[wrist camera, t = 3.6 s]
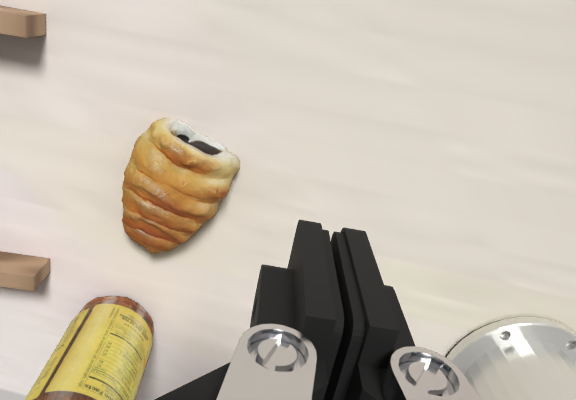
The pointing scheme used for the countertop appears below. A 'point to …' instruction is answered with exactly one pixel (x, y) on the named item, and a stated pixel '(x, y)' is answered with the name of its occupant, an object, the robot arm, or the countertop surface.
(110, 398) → the sauce bottle
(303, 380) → the robot arm
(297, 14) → the countertop surface
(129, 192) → the pastry
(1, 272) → the open wooden frame
